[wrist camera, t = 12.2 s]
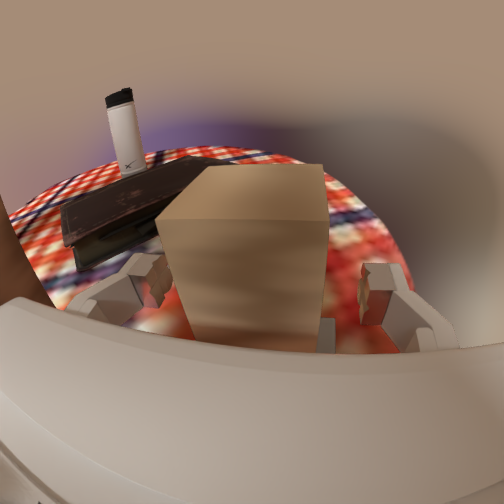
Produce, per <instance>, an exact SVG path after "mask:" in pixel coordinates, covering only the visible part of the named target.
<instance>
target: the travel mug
mask: <svg viewBox="0 0 504 504" xmlns="http://www.w3.org/2000/svg"><path fill="white" fill-rule="evenodd" d="M105 101H106V105H107V111H108V113H107V114H108V119H109V124H110V129H111V134H112V138H113V143H114V147H115V152H116V156H117V160H118V164H119V168H120V171H121V176H122V178H125V177H128V176H131V175H134V174H137V173H140V172H142V171H145V170H147V165H146V161H145V156H144V152H143V147H142V142H141V137H140V132H139V127H138V121H137V116H136V110H135V105H134V100H133V94H132V89H130V87H129V88H124V89H122V90H121V91H118V92H116V93H113V94H111V95H109V96H107V97H106V98H105Z"/></svg>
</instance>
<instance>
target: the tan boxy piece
mask: <svg viewBox="0 0 504 504" xmlns="http://www.w3.org/2000/svg"><path fill="white" fill-rule="evenodd" d="M155 222H156V226H157V229H158V233H159V236H160V239H161V243H162V246H163V249H164V252H165V256H166V259H167V262H168V265H169V268H170V271H171V274H172V277H173V280H174V283H175V286H176V289H177V292H178V294H179V297H180V300H181V303H182V306H183V308H184V311H185V314H186V316H187V319H188V322H189V324H190V327H191V329H192V332H193V335H194V337H195V340H196V341H200V342H206V343H213V344H220V345H228V346H236V347H245V348H254V349H264V350H276V351H289V352H304V353H315V352H316V346H317V339H318V332H319V325H320V318H321V310H322V302H323V293H324V284H325V274H326V263H327V252H328V239H329V224H330V220H329V211H328V202H327V194H326V186H325V179H324V172H323V165H322V164H246V165H223V166H208V167H207V168H206V169H205V170H204V171H203V172H202V173H201V174H200V175H199V176H198V177H197V178H196V179H194V180H193V181H192V182H191V183H190V184H189V185H188V186H187V187H186V188H185V189H184V190H183V191H182V192H181V193H180V194H179V195H178V196H177V197H176V198H175V199H174V200H173V201H172V202H171V203H170V204H169V205H168V206H167V207H166V208H165V209H164V210H163V212H162V213H161V214H160V215H159V216H158V217H157V218H156V219H155Z"/></svg>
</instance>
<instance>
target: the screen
mask: <svg viewBox="0 0 504 504" xmlns="http://www.w3.org/2000/svg"><path fill="white" fill-rule="evenodd" d="M17 297H24V298H27V299H29V300H32V301H35V302H38V303H41V304H44V305H47V306H50V307H53V308H56V307H55V305H54V304H53V302H52V301H51V299H50V298H49V296H48V294H47V293H46V291H45V289H44V288H43V286H42V284H41V282H40V281H39V279H38V277H37V275H36V274H35V272H34V270H33V268H32V266H31V264H30V262H29V260H28V258H27V257H26V255H25V253H24V250H23V248H22V246H21V244H20V242H19V240H18V238H17V236H16V233H15V231H14V229H13V226H12V224H11V222H10V219H9V217H8V214H7V212H6V209H5V207H4V204H3V201H2V199H1V196H0V306H1V305H3V304H5V303H6V302H8V301H10V300H12V299H14V298H17Z"/></svg>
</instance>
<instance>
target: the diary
mask: <svg viewBox="0 0 504 504" xmlns="http://www.w3.org/2000/svg"><path fill="white" fill-rule="evenodd" d="M223 165H240V164H236V163H232V162H228V161H223V160H219V159H214V158H207V157H197V156H190V155H187V156H184V157H181V158H179V159H176V160H173V161H170V162H168V163H165V164H163V165H160V166H157V167H155V168H151V169H148V170H145V171H142V172H140V173H137V174H134V175H131V176H128V177H125V178H123V179H121V180H118V181H116V182H114V183H112V184H109V185H107V186H105V187H103V188H101V189H99V190H97V191H95V192H92V193H90V194H87V195H85V196H83V197H80V198H78V199H75V200H73V201H71V202H69V203H66V204H64V205H62V206H60V212H61V227H62V235H63V241H64V245H65V247H68V246H70V245H71V247H73V246H74V247H75V248H73V253H74V257H75V263H76V268H77V269H76V271H77V272H79V271H86V270H88V269H90V268H92V267H94V266H96V265H98V264H100V263H102V262H104V261H106V260H108V259H110V258H112V257H114V256H116V255H118V254H121V253H123V252H125V251H127V250H129V249H131V248H133V247H135V246H137V245H139V244H141V243H143V242H145V241H147V240H149V239H151V238H153V237H155V236H157V235H159V233H158V229H157V226H156V222H155V219H156V218H157V217H158V216H159V215H160V214H161V213H162V212H163V210H164V209H165V208H166V207H167V206H168V205H169V204H170V203H171V202H172V201H173V200H174V199H175V198H176V197H177V196H178V195H179V194H180V193H181V192H182V191H183V190H184V189H185V188H186V187H187V186H188V185H189V184H190V183H191V182H192V181H193V180H194V179H196V178H197V177H198V176H199V175H200V174H201V173H202V172H203V171H204V170H205V169H206V168H207V167H208V166H223ZM71 247H70V248H71Z"/></svg>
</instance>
